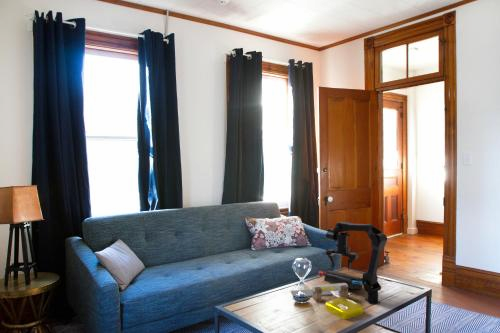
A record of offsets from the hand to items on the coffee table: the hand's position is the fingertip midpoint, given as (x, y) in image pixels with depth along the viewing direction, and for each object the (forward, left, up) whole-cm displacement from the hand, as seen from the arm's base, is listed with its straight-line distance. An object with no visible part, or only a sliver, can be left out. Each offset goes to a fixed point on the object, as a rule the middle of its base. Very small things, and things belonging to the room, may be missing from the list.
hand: (341, 268), depth 226 cm
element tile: (-28, +11, -14) cm, 33 cm away
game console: (+9, -8, -11) cm, 16 cm away
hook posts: (-11, +12, -14) cm, 21 cm away
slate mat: (-2, +20, -14) cm, 24 cm away
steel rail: (-11, +12, -9) cm, 18 cm away
